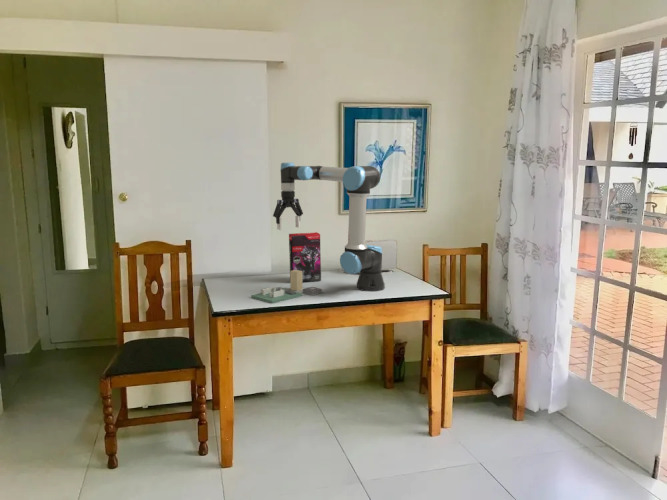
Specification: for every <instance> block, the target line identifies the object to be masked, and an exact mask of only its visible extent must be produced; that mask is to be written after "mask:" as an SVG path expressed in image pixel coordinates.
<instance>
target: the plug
mask: <svg viewBox="0 0 667 500" xmlns="http://www.w3.org/2000/svg"><path fill="white" fill-rule="evenodd" d="M289 280H290V281H289V282H290V286H289V287H290V289H289V290H291V291H294V292H299V291H303V282H302V271H299V270H293V271H290V270H289Z"/></svg>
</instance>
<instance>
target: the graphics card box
mask: <svg viewBox="0 0 667 500" xmlns="http://www.w3.org/2000/svg"><path fill="white" fill-rule="evenodd" d="M288 248H289V249H288V250H289V272H290V271H293V270H299V271H302V283H305V282H319V281H320V282H321V281H322V267H321V266H322V265H321V264H322V262H321V234H320V233H319V232H317V231H316V232H315V231H314V232H299V233H295V232H294V233H288Z"/></svg>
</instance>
